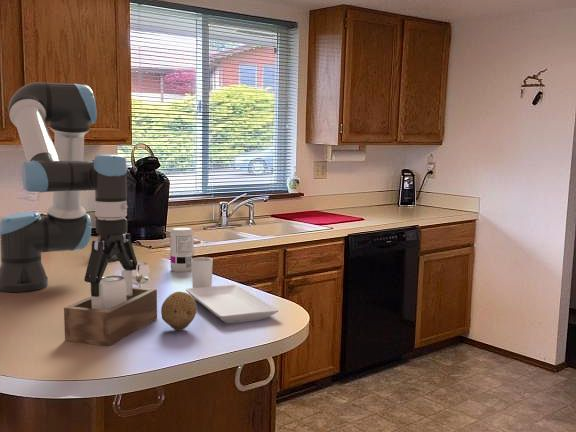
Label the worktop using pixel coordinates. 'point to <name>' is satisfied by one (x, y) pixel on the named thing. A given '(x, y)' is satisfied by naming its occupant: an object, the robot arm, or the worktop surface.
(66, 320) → the narrow open box
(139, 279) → the wineglass
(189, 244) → the supplement can
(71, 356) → the worktop surface
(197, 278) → the white cup
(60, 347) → the worktop surface
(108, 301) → the can
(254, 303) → the tray
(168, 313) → the natural sponge
